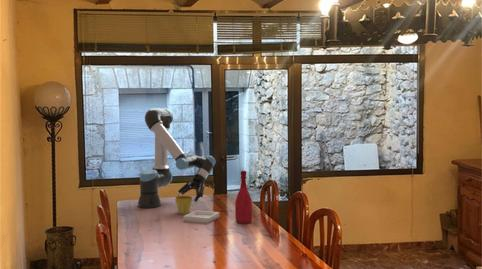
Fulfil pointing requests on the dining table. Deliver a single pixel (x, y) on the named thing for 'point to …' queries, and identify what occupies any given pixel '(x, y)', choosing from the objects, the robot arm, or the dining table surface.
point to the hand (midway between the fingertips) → (184, 203)
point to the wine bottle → (243, 202)
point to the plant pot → (183, 203)
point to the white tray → (201, 216)
